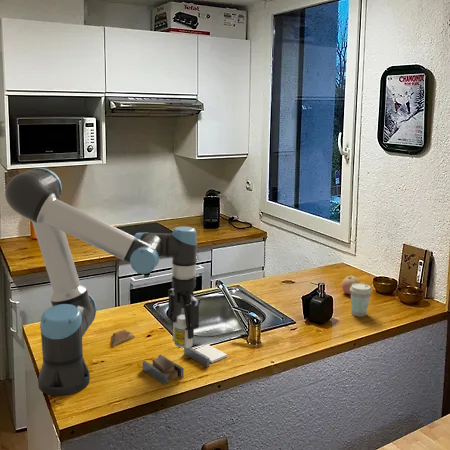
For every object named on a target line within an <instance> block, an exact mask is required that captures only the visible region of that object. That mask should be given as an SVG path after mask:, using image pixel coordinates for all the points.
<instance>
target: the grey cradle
mask: <svg viewBox="0 0 450 450" xmlns="http://www.w3.org/2000/svg"><path fill="white" fill-rule="evenodd" d="M183 354H184V356H187V357H189V358H191V359H192V360H194V361H196V362H197V363H199V364H201V365H202V366H205V367H206V368H208V367H210V362H209V359H210V358H209V357H207V356H205V355H204V354H202V353H200V352H198V351H196V350H195V349H194V348H193V347H192V346H191V347H188V348H183ZM163 356H164V355H162V354H159V355H158V357H157V358H160V357H163ZM164 357H165V356H164ZM165 358H166V359H167V360H169V361H170V362H171V363H172V364H173V365H174V369H175V370H177V371H178V377H179V378H180V379H181V378H184V376H185V375H184V374H185V373H184V372H185V369H184V367H182V366H181V365H179V364H177V363H176V362H174V361H172V360H170V359H169V358H168V357H165ZM151 364H152V363H150V362H148V361H146V360H143V361H142V363H141V365H142V371H143V372H145V373H146V374H148V375H149V376H151V377H153V378H154V379H156V380H157V381H158V382H160V383H161V384H163V385H164V386H165V385H168V383H169V382H168V375H167V374H165V373H164V372H162V371H161V370H159V369H157V368H156V367H154V366H153V365H151Z"/></svg>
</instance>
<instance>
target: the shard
mask: <svg viewBox="0 0 450 450" xmlns="http://www.w3.org/2000/svg"><path fill="white" fill-rule="evenodd" d="M135 337H136V335H135V334H133V333H132V332H130V331H128V330H126V329H122V330H119V331H116V332H113V333H112V338H111V346H112V348H114V347H116V346H119V345H120V344H123V343H124V342H126V341H129V340H131V339H134V338H135Z"/></svg>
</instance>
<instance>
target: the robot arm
mask: <svg viewBox="0 0 450 450" xmlns="http://www.w3.org/2000/svg"><path fill="white" fill-rule="evenodd" d="M4 190H5V191H4V196H5V200H6V202H7V204H8V206H9V208H11V209H12V210H13V211H14V212H15V213H17V214H18V215H20V216H22V217H24V218H25V219H27V220H29V221H31V223H32V227H33V229H34V233H35V236H36V240H37V243H38V246H39V249H40V253H41V256H42V259H43V263H44V266H45V269H46V272H47V275H48V278H49V282H50V287H52V291H53V293H52V295H51V296H50V298H49V299H50V302H51V306H52V307H51V306H50V307H48V308H47V309H46V310H44V311H43V312H42V313H41V314H42V315H40V325H39V329H40V337H41V350H42V365H41V367H40V372H39V375H38V377H37V378H38V379H37V383H38V389H39V390H40V391H41V392H42V393H43V394H46V395H48V396H49V395H50V396H56V397H58V396H59V397H60V396H68V395H71V394H72V395H73V394H75V393H79V392H81V391H82V390H84V389H85V388H86V387H87V386H88V385H89V384H90V381H91V377H90V375H91V374H90V369H89V368H88V366H87V364H86V361H85V358H84V354H83V353H84V352H83V351H84V349H83V337H84V336H85V334H86V333H87V331H88V329H89V328H90V326H91V325H92V324H93V322H94V321H95V318H96V314H97V303H96V301H95V299H94V297H93V296H92V295H91V294H89V292H88V289H87V286H86V285H85V286H84V285H83V284H81V283H80V278H79V275H78V272H77V268H76V264H75V262H74V258H73V254H72V251H71V248H70V245H69V240H68V238H67V234H68V235H70V236H72V237H74V238H76V239H78V240H80V241H83V242H84V243H86V244H88V245H91V246H93V247H95V248H97V249H98V250H101V251H103V252H106V253H107V254H109V255H110V256H113V257H116V258H118V259H120V260H122V261H124V262H126V263H128V264H129V265H130V267H131V269H132V270H133V271H135V272H136V273H137V274H142V275H143V274H144V275H145V274H149V273H151V272H153V270H154V269H155V268H156V267H157V266H158V264H159V262H160V261H159V260H160V259H161V258H170V259H171V260H172V262H171V263H172V265H171V275H172V277H171V278H172V279H171V287H172V288H170V289H168V290H167V294H168V306H167V307H168V314H167V315H168V316H167V317H168V318H169V319H171V322H172V342H173V343H175V323H176V322H177V316H178V315H182V309H183V311H184V312H183V313H184V315H185V320H186V326H187V328H185V347H184V348H188V347H191V348H192V347H193V345H194V344H193V343H194V342H193V339H194V336H195V335H194V333H195V332H194V331H195V330H196V329H199V327H200V326H199V325H200V323H199V322H200V321H199V319H200V317H199V315H200V303H201V300H200V298H196V297H195V294H194V290H195V289H196V287H197V286H196V285H197V277H196V275H197V252H198V250H197V249H198V239H197V238H198V237H197V235H198V234H197V230H196V229H195V228H193V227H191V226H185V225H184V226H176V227H174V228H173V229H172V233H163V232H162V233H161V232H147V231H145V232H137V233H135V234H134V235H132V234H130V233H128V232H125V230H123V229H119V228H117V227H115V226H114V225H112V224H109V223H107V222H105V221H103V220H101V219H99V218H97V217H95V216H93V215H91V214H88V213H87V212H84V211H83V210H80V209H79V208H77V207H75V206H73V205H70V204H69V203H66V202H64V201H62V199H61V195H62V190H63V188H62V182H61V179H60V178H59V176H58V175H57V174H56V173H55V172H54V171H52V170H51V169H48V168H46V167H37V168H31V169H28V170H26V171H24V172H22V173H18V174H16V175H14V176H13V177H11V179H10V180H9V181H8V182H7V184H6V187H5V189H4ZM184 348H183V349H184Z"/></svg>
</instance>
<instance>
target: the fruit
mask: <svg viewBox="0 0 450 450" xmlns="http://www.w3.org/2000/svg"><path fill="white" fill-rule="evenodd" d="M356 283H360V280H359V279H358V278H357V277H356V276H355V275H354V276H353V275H348V276H345V278H344V279H343V280H342V282H341V289H342V291H343V292H344V293H345V294H346V295H348V296H351V291H350V288H351V286H352V284H356Z"/></svg>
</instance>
